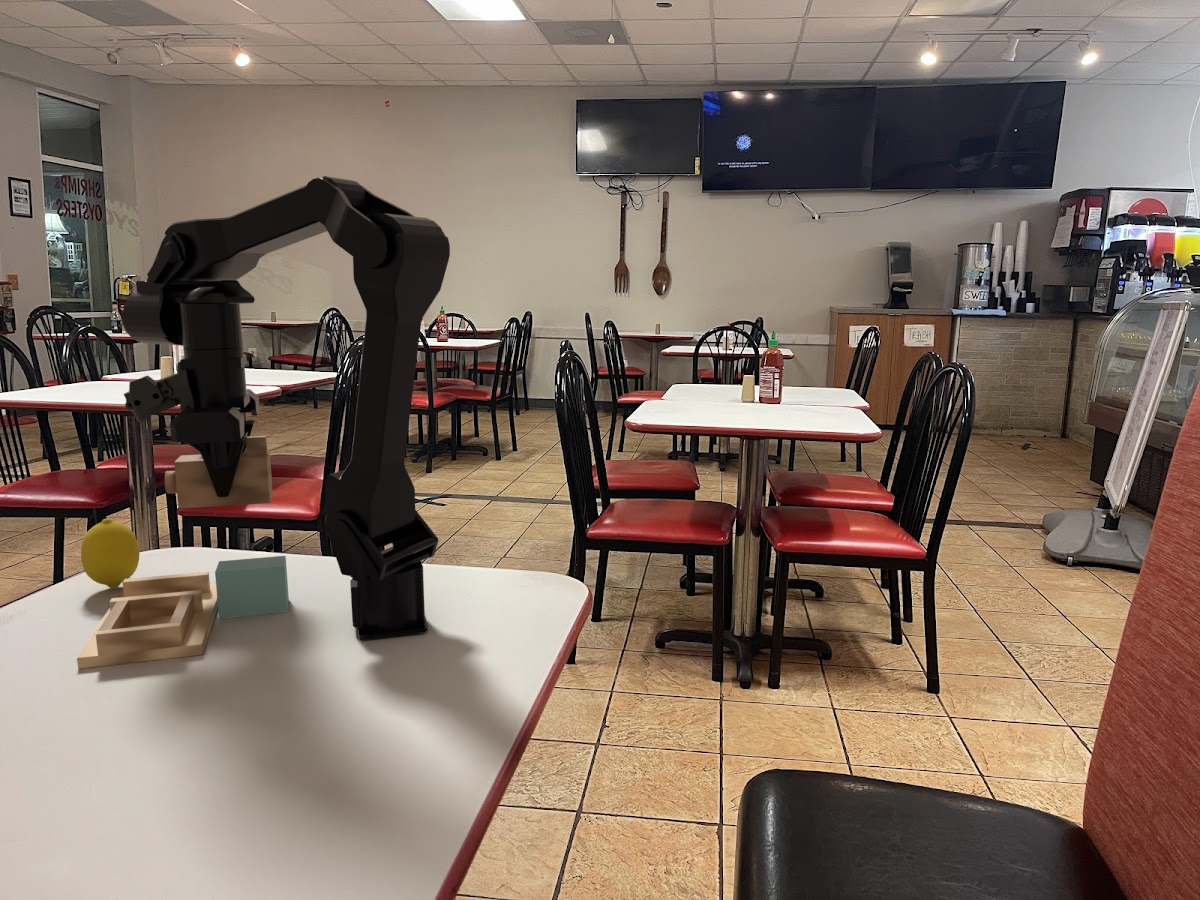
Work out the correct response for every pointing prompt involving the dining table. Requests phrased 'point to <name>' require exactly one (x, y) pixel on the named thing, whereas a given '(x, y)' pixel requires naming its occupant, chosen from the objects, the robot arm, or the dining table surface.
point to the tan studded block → (247, 484)
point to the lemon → (109, 553)
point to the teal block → (252, 586)
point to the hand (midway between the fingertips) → (225, 492)
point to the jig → (154, 621)
